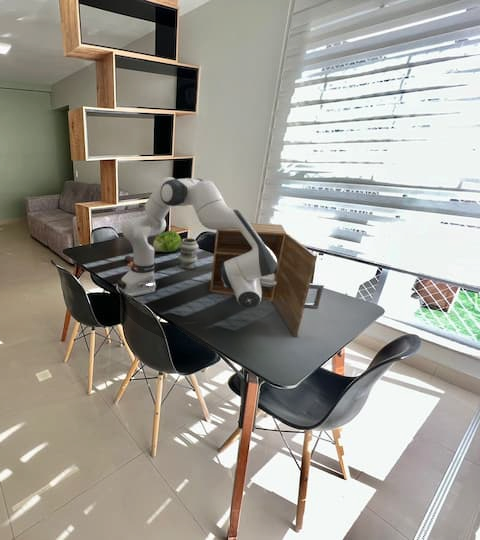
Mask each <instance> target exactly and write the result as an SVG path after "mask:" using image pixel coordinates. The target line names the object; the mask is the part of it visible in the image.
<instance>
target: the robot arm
mask: <svg viewBox="0 0 480 540" xmlns="http://www.w3.org/2000/svg"><path fill="white" fill-rule="evenodd" d="M186 206H192V207H193V209H194V212H195V214H196V216H197V218H198V221H199V222H200V225H202V227H204V228H206V229H208V230H213V231H217V230H222V229H237V230H239V231H241V233H242V234H243V235H244V237H245V238H246V240H247V241H248V242H249V244H250V245H251V247H252V250H251V251H250V252H247V253H245V254H242V255H240V256H238V257H235V258H232V259H230V260H228V261H225V262H224V263H223V265H222V268H221V277H222V281H223V282H224V286H225V287H228V288H229V289H230V290H231V291H233V292H235V295H234V296H235V298H236V301H237V303H238V305H240V306H241V307H243V308H248V309H252V308H255V307H257V306H259V304H260V303H261V301H262V300H263V299H262V289H261V286H265V287H272V286H273V285H275V286H276V285H277V282H276V281H274V280H275V274H273V273H274V271H275V270H276V268H277V266H278V263H277V259H276V256H275V255H274V253H273V252H272V251H271V250H270V249H269V248H268V247H267V246H266V245H265V244H264V243H263V241H262V240H261V239H260V237H259V236H258V234H257V233H256V232H255V230H254V229H253V228H252V226H251V225H250V223H251V222H249V221H248V220H247V218H246V217H245V216H244V215H243V213H242V212H241V211H239V210H238V209H233V208H231V207H229V206H228V205H227V203H226V202H225V200H224V198H223V196H222V194H221V192H220V190H219V189H218V187H217V186H216V185H215V184H214V182H213V181H212V180H209V179H201V178H190V177H185V178H175V177H171V176H166V177H164V178H163V179H161V181H160V182H159V183H158V184H157V185H156V187H155V188H154V189H153V191H152V192H151V194H150V196H149V197H148V199H147V201H146V202H145V204H144V211H145V214H144V215H142V216H136V217H132V218H129V219H127V220H125V221H124V222H123V223H122V226H121V233H122V236H123V237H124V238H125V239H126V240H128V241H129V242H130V244H131V246H132V250H133V251H132V252H133V254H132V255H133V259H134V262H133V264H132V265H131V263H127V266H126V267H127V268H129V270H128V272H126V273H125V274H124V275H123V276H122V277H121V279H120V280H117V285H116V286H115V289H116V291H117V292H118V293H119V294H121V293H120V291H119V290H120V289H121V290H122V291H124V292H125V293H126V294H128V295H130V296H131V297H130V298H132V297H138V296H143V295H148V294H153V293H155V292H156V289H157V288H158V287H157V283H156V278H155V270H156V262H155V253H156V251H155V250H154V248H153V245H152V244H149V242H148V238H151V237H156V236H157V235H159V234H161V233H163V232H165V230H166V228H167V222H166V216H167V214H168V213H169V211H170V210H171V208H172V207H186Z"/></svg>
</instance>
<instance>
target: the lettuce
mask: <svg viewBox="0 0 480 540" xmlns="http://www.w3.org/2000/svg"><path fill="white" fill-rule="evenodd" d="M180 243H182V237H181V236H180V235H179V233H178V232H177V231H174V230H167V231H163V232H162V233H160V234H158V235H155V236H154V239H153V243H152V247H153V248H154V250H155V252H158V253H171V252H174V251H176V250H178V249H180V247H179V245H180Z"/></svg>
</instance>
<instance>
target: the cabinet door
mask: <svg viewBox="0 0 480 540" xmlns="http://www.w3.org/2000/svg"><path fill="white" fill-rule="evenodd" d="M317 258H318V256H317V254H315V253H314V252H313V251H311V250H310V249H308V248H307V247H306V246H304V244H302V243H301V242H299V241H298V240H297V239H296V238H294V237H292V236H291V235H290V234H288V233H287V234H286V235H285V240H284V245H283V250H282V255H281V260H280V265H279V270H278V274H277V279H276V282H277V285H276V286H275V289H274V294H273V299H272V300H271V301H272V303H273V305H274V307H275V308H276V309H277V311H278V313H279V314H280V316H281V318H282V319H283V321H284V322H285V324H286V326H287V327H288V329H289V330H290V332H291V334H292V335H293V337H298V334H299V329H300V325H301V321H302V318H303V314H304V311H305V309H310V310H318V309H319V306H320V301H321V298H322V295H323V291H324V287H325V284H323V283H313V282H312V278H313V275H314V274H313V273H314V271H315V266H316V262H317ZM309 290H316V294H315V297H314V301H313V303H312V302H306V301H307V298H308V294H309V293H308V292H309Z"/></svg>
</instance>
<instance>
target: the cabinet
mask: <svg viewBox="0 0 480 540" xmlns="http://www.w3.org/2000/svg"><path fill="white" fill-rule="evenodd" d="M249 223H250V225H251V226H252V228H253V229H254V230H255V232H256V233H257V234H258V236H259V237H260V239H261V240H262V241H263V243H264V244H265V245H266V246H267V247H268V248H269V249H270V250H271V251H272V252H273V253H274V255H275V256H276V259H277V263H278V266H277V268H276V270H275V271H274V273H273V274H275V280H274V281H276V279H277V274H278V270H279V265H280V260H281V255H282V250H283V245H284V240H285V235H286V234H288V233H287V232H286V230H285V228H284V226H283V224H276V223H259V222H258V223H257V222H249ZM215 233H216V234H215V242H214V251H213V252H214V253H213V260H212V269H211V278H210V286H209V292H210V293H217V294H223V295H232V296H236V295H235V292H233V291H231V290H230V289H229V288H228V287H225V286H224V282H223V281H222V277H221V268H222V265H223V263H224V262H225V261H228V260H230V259H232V258H235V257H238V256H240V255H242V254H245V253H247V252H250V251H251V250H252V247H251V245H250V244H249V242H248V241H247V240H246V238H245V237H244V235H243V234H242V233H241V231H239V230H237V229H222V230H216V232H215ZM261 289H262V299H261V300H267V301H272V299H273V294H274V289H275V285H273V286H272V287H265V286H261Z"/></svg>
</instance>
